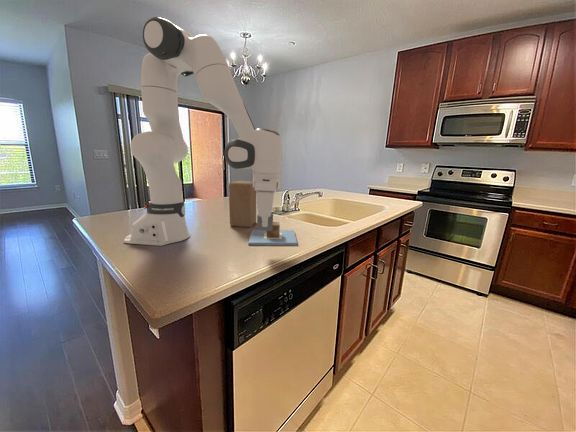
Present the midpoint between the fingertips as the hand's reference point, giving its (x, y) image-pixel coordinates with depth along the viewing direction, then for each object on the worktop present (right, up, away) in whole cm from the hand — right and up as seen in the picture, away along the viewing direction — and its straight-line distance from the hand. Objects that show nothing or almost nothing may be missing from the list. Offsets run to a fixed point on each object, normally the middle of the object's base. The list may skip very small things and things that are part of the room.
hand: (265, 223), depth 84 cm
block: (-14, -2, +36) cm, 38 cm away
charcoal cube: (0, -2, 0) cm, 2 cm away
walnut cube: (+2, -5, +17) cm, 18 cm away
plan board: (+2, -6, +17) cm, 18 cm away
